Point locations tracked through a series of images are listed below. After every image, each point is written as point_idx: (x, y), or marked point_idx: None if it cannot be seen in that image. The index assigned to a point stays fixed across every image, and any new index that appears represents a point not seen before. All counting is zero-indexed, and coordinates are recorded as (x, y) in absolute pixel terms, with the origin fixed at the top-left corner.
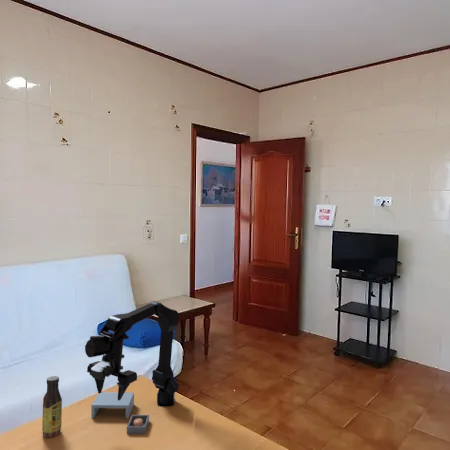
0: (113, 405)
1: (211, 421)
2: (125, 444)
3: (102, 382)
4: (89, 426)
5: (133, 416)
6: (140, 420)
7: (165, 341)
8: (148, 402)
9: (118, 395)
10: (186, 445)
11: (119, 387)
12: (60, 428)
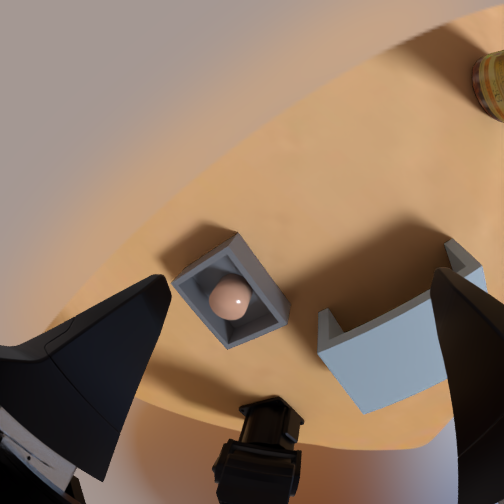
0: (386, 321)
1: None
2: (194, 186)
3: (462, 389)
4: (425, 194)
5: (277, 320)
6: (222, 309)
7: None
8: (327, 402)
9: (120, 296)
10: (82, 286)
11: (39, 349)
12: (485, 98)
